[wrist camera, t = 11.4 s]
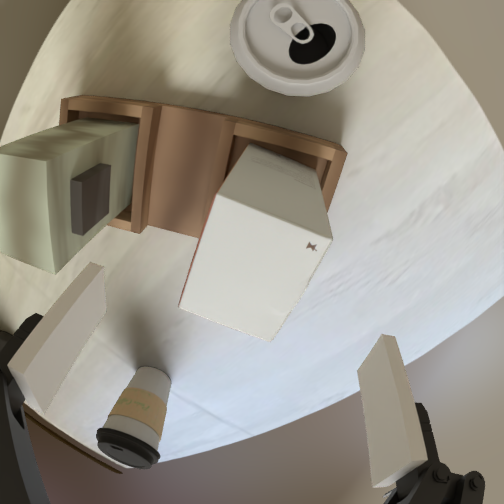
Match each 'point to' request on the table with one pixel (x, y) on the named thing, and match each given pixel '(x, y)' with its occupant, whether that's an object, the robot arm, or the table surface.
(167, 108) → the brown divided tray
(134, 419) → the coffee cup
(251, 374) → the table surface
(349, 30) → the can
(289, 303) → the small box
